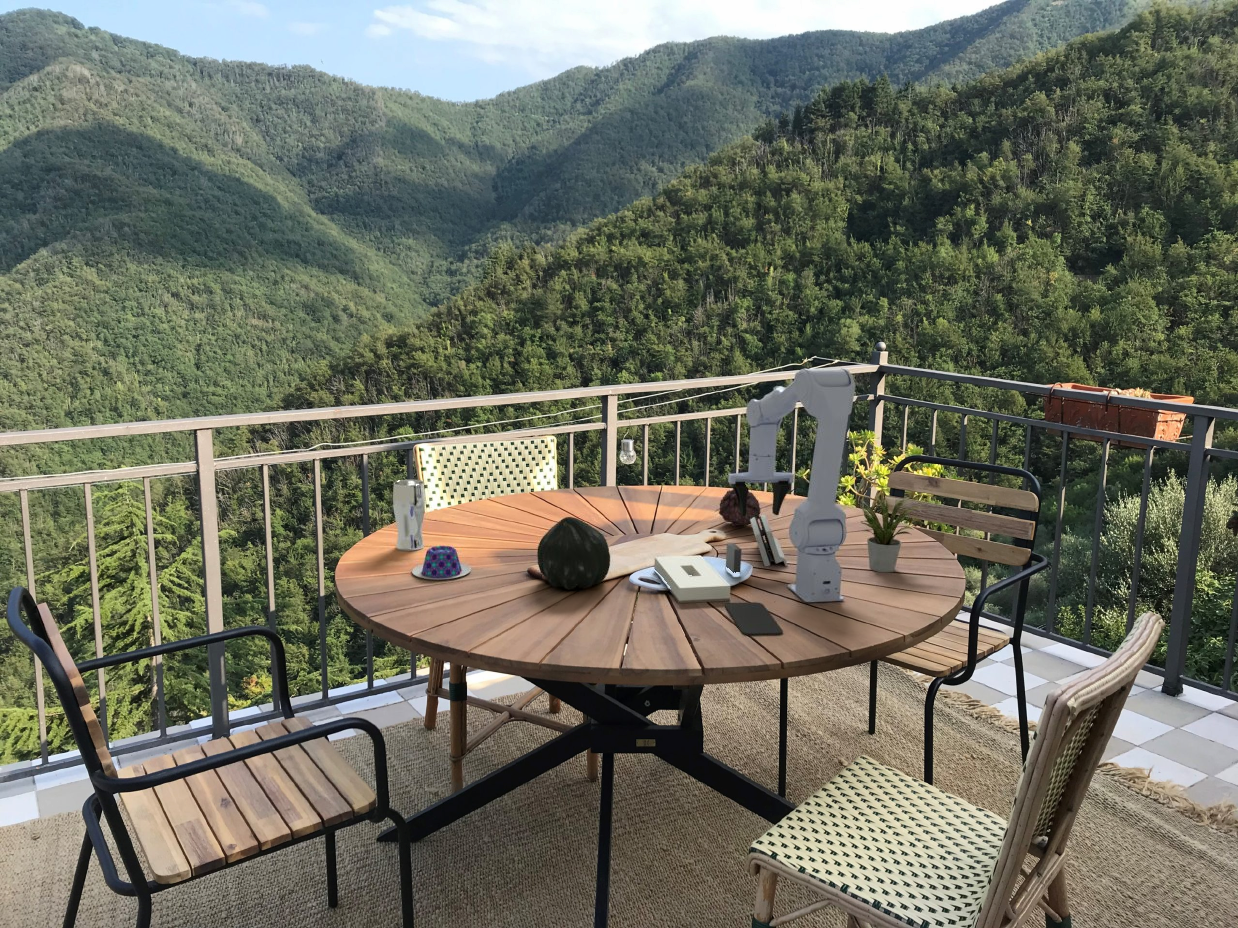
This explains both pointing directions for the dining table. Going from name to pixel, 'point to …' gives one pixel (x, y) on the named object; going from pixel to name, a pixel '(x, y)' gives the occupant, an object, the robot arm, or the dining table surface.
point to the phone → (753, 619)
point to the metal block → (733, 557)
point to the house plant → (884, 536)
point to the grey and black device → (767, 542)
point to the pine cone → (732, 512)
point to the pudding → (441, 564)
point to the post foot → (692, 579)
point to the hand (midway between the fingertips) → (759, 514)
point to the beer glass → (409, 513)
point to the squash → (573, 555)
